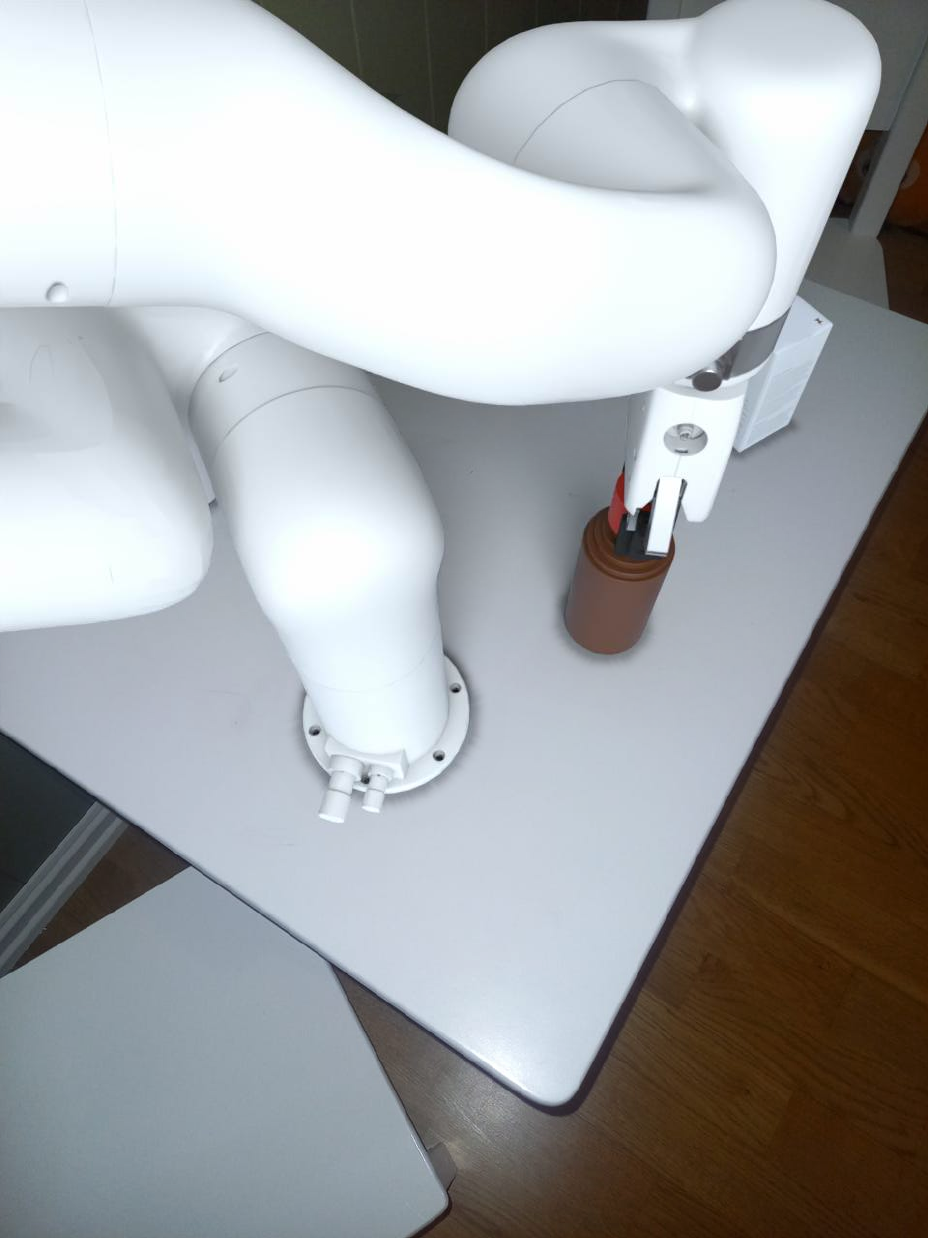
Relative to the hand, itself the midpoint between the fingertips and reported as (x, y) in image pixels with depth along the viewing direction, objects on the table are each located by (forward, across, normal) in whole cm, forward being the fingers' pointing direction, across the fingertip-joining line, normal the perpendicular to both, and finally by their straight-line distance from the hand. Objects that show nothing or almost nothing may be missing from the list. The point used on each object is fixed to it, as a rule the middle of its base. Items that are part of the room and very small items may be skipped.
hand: (639, 524), depth 56 cm
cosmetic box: (+13, +21, -11) cm, 28 cm away
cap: (-1, 0, 0) cm, 1 cm away
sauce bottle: (+13, 0, +1) cm, 13 cm away
